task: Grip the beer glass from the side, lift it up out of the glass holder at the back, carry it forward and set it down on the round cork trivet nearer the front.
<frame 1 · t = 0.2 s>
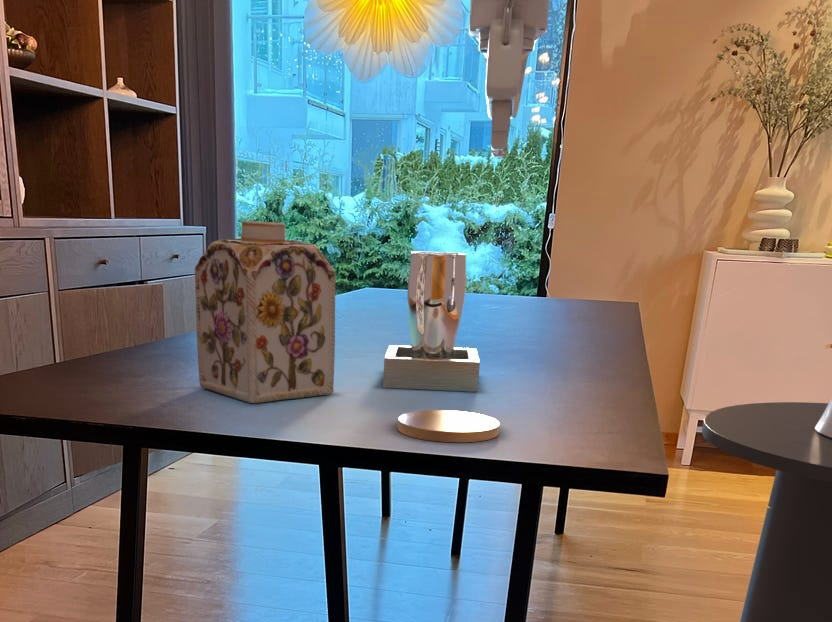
hand: (498, 153, 107), 26 cm above the table, tool pointing down, fingers open, 8 cm apart
glass holder: (430, 381, 113), on the table
beer glass: (430, 383, 113), resting in glass holder
trivet: (447, 430, 89), on the table
decorative jar: (266, 393, 104), on the table
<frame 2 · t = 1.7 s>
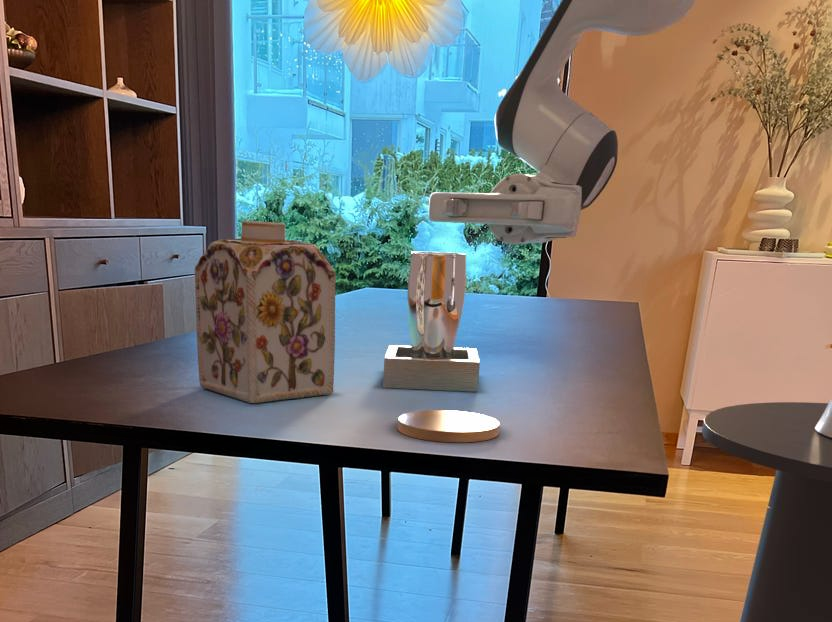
hand: (481, 208, 114), 20 cm above the table, tool horizontal, fingers open, 8 cm apart
nothing on the table moved.
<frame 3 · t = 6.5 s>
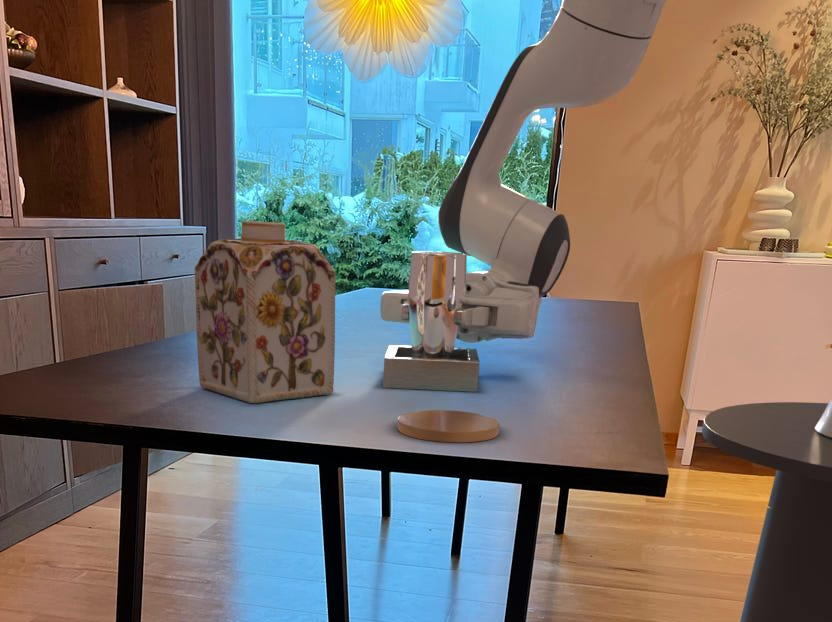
hand: (431, 315, 109), 8 cm above the table, tool horizontal, fingers closed on beer glass, 6 cm apart
beer glass: (430, 383, 113), resting in glass holder, touching gripper
everything else where it was.
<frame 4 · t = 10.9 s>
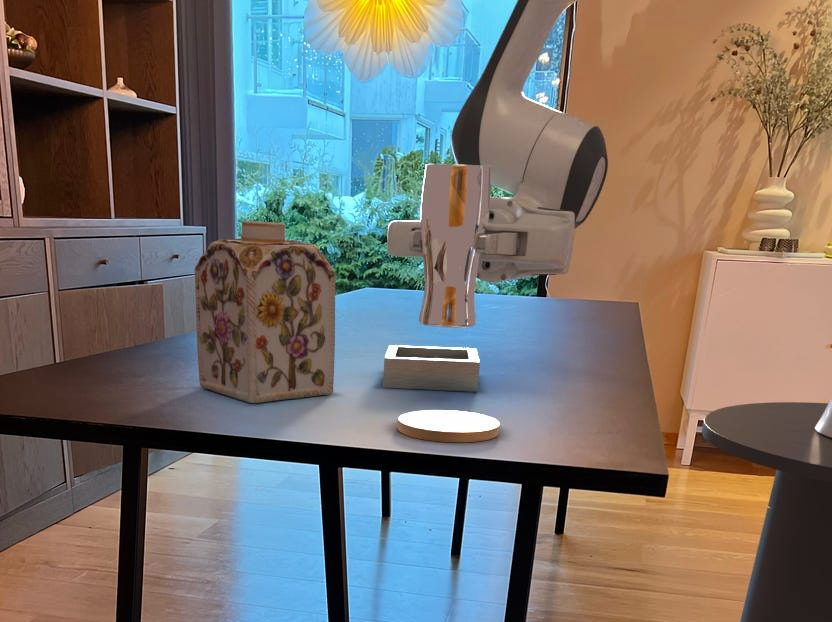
hand: (448, 242, 91), 17 cm above the table, tool horizontal, fingers closed on beer glass, 6 cm apart
beer glass: (446, 326, 96), point 8 cm above the table, touching gripper
everything else where it was.
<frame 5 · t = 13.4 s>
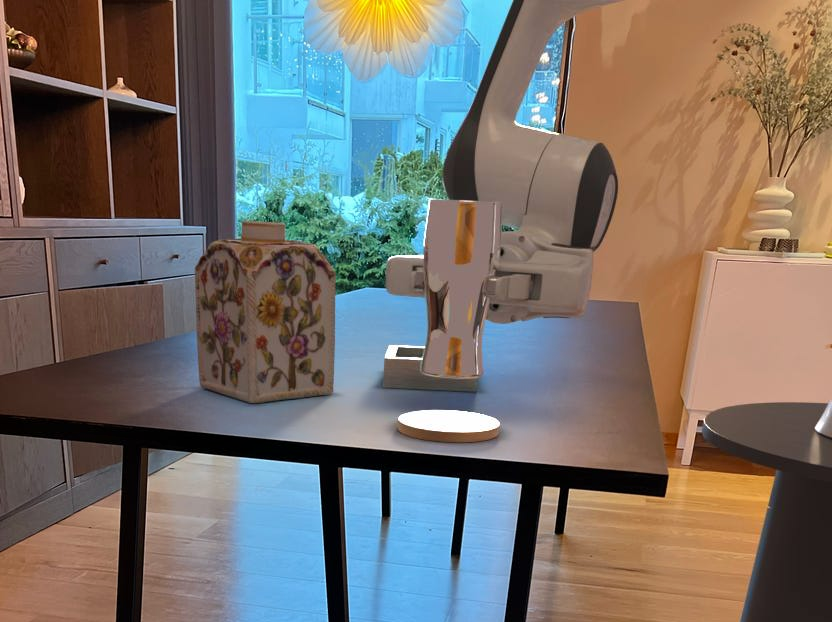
hand: (454, 285, 82), 13 cm above the table, tool horizontal, fingers closed on beer glass, 6 cm apart
beer glass: (451, 375, 86), point 5 cm above the table, touching gripper
everything else where it was.
when the fingers open (9 cm above the table, at t = 15.3 s): beer glass stays where it is, resting on trivet.
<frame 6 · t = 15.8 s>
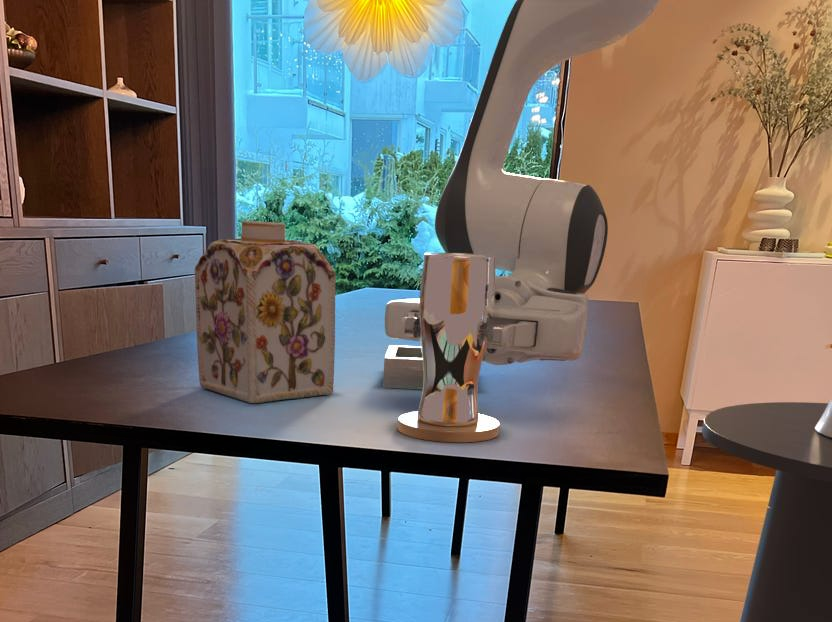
hand: (451, 332, 84), 9 cm above the table, tool horizontal, fingers open, 8 cm apart
beer glass: (447, 422, 88), point 1 cm above the table, touching trivet
everything else where it was.
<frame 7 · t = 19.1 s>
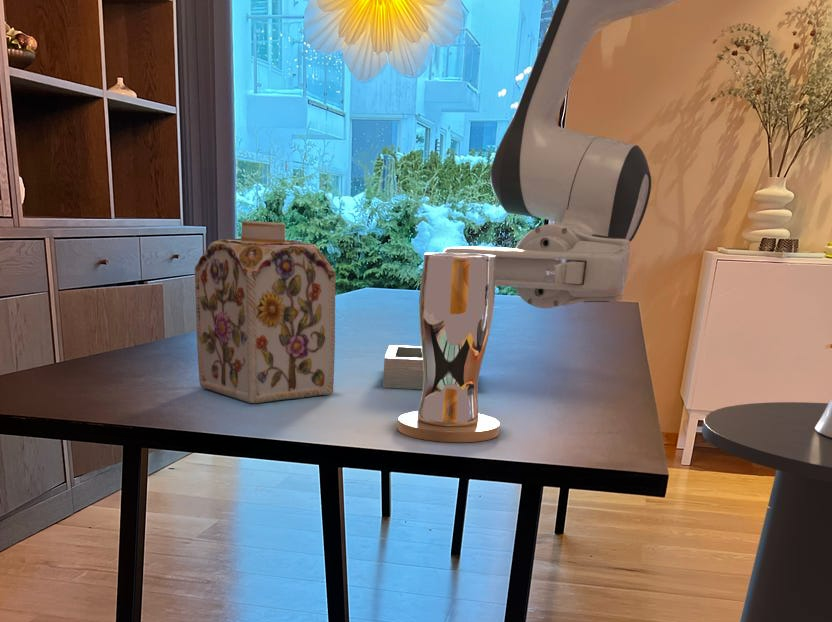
hand: (507, 271, 92), 14 cm above the table, tool horizontal, fingers open, 8 cm apart
nothing on the table moved.
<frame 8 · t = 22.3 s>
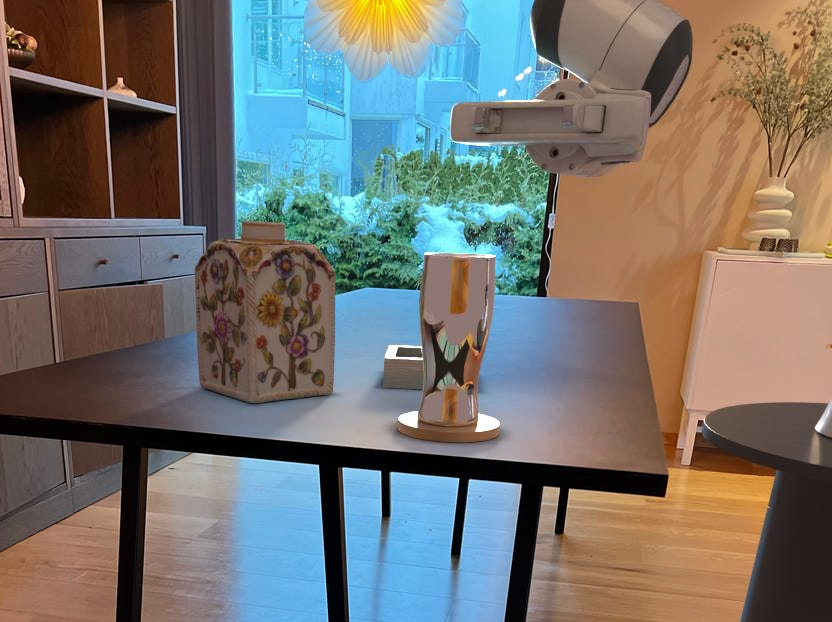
hand: (522, 116, 86), 28 cm above the table, tool horizontal, fingers open, 8 cm apart
nothing on the table moved.
at the end: beer glass 0.1 cm off-centre on the trivet, point 0.8 cm above the trivet's base; beer glass tilted 0°; the gripper is holding nothing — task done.
